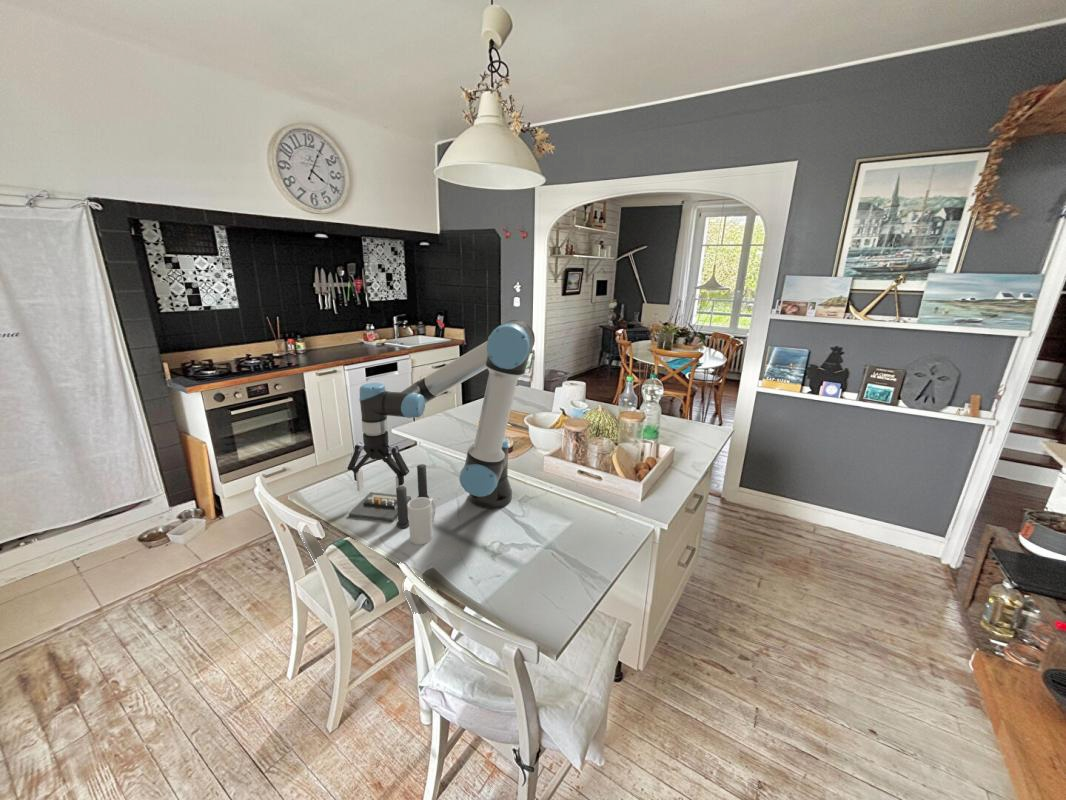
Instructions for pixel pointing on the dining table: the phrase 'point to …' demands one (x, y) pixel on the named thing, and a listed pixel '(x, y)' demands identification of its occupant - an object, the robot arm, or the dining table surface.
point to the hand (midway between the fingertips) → (379, 491)
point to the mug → (421, 519)
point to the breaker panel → (377, 507)
